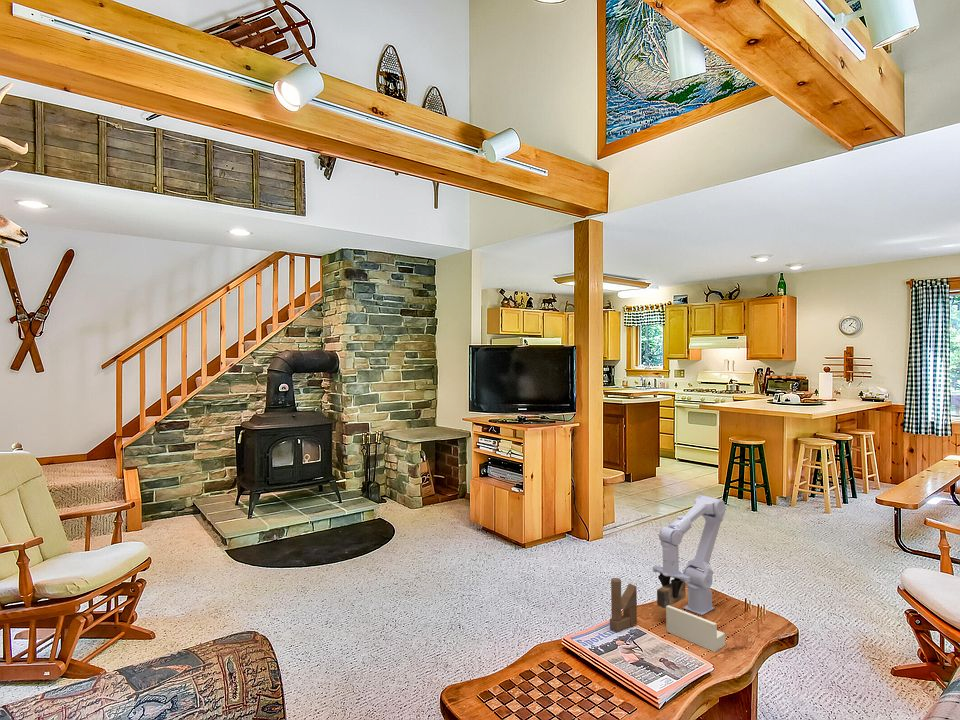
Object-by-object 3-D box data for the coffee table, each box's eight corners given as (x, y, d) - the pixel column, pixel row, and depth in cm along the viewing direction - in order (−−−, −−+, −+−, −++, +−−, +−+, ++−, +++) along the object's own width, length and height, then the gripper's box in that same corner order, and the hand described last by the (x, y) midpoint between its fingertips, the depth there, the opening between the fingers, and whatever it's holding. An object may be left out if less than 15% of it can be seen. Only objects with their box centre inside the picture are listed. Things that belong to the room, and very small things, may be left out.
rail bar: (678, 595, 205) (677, 579, 205) (685, 597, 203) (685, 582, 203) (657, 605, 197) (656, 589, 197) (664, 608, 194) (664, 592, 194)
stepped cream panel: (677, 625, 194) (676, 600, 194) (725, 645, 180) (724, 618, 180) (666, 631, 190) (666, 606, 190) (714, 652, 176) (714, 624, 176)
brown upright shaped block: (637, 624, 195) (636, 575, 195) (616, 632, 189) (616, 582, 190) (629, 620, 198) (628, 572, 198) (609, 628, 192) (608, 579, 193)
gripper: (647, 556, 203) (648, 592, 203) (682, 567, 191) (683, 605, 191) (658, 552, 207) (659, 587, 207) (692, 563, 196) (693, 600, 196)
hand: (671, 596), depth 199 cm, fingers closed on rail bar, 3 cm apart
